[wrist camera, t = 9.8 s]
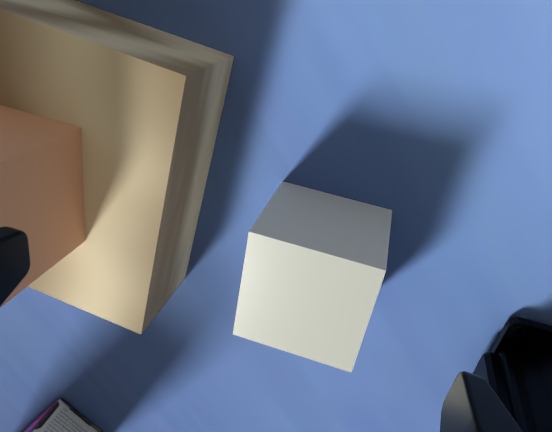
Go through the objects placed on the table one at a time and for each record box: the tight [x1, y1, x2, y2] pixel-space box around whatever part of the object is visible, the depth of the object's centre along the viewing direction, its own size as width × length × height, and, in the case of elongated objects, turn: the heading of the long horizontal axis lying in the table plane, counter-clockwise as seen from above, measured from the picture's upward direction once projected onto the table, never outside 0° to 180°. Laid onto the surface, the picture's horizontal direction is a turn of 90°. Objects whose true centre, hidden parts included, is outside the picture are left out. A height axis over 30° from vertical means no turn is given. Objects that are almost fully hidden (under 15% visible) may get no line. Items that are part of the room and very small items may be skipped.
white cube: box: [233, 181, 392, 372], centre depth 20 cm, size 5×5×5 cm
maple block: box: [0, 0, 234, 334], centre depth 21 cm, size 12×12×5 cm
